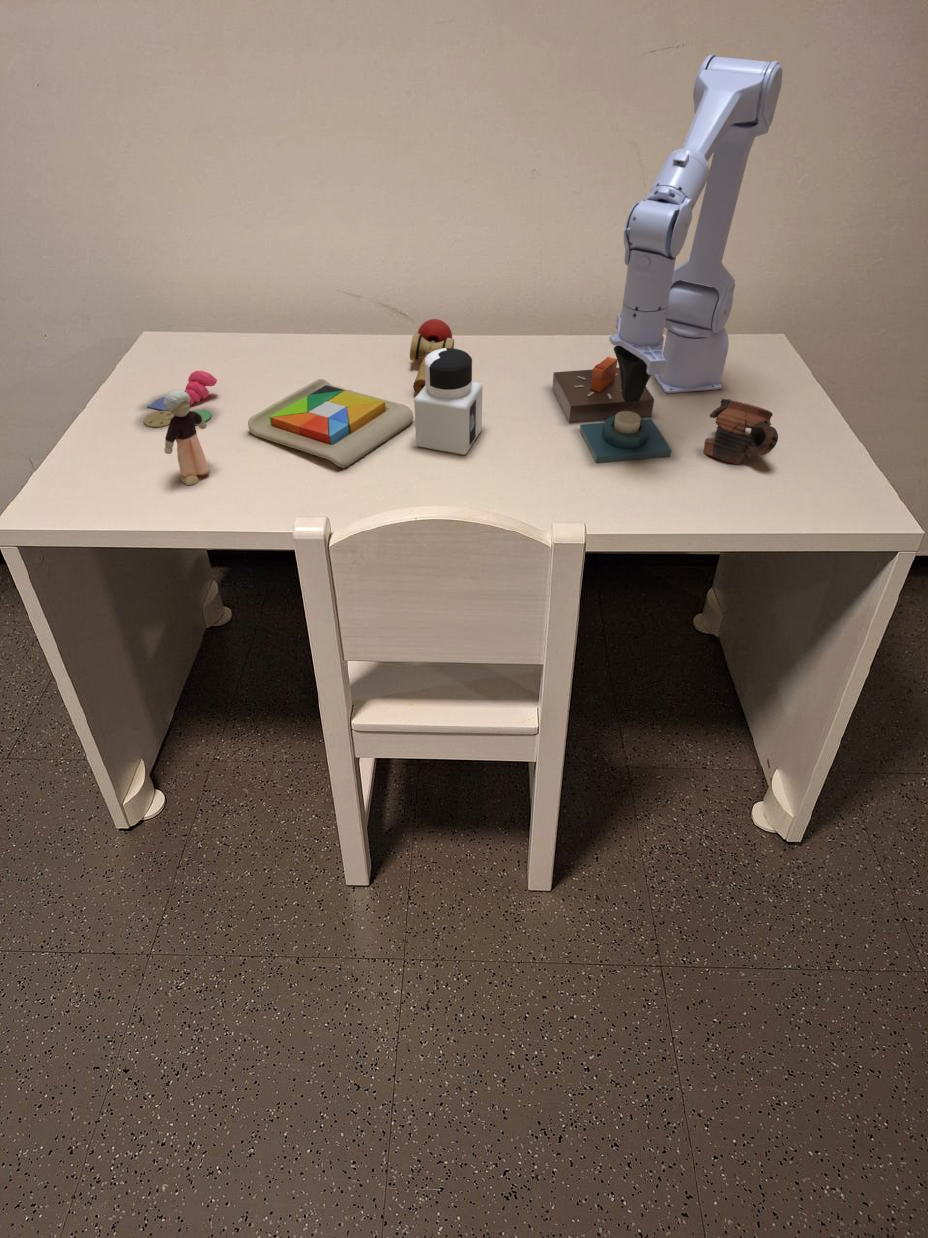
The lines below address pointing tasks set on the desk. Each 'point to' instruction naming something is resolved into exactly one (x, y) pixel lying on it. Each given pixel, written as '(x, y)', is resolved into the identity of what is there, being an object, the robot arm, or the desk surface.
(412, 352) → the kendama
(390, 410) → the wooden puzzle
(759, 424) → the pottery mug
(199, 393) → the toy pieces
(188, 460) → the grandmother figurine
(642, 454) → the button block
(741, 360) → the desk surface
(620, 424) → the button
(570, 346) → the desk surface
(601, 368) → the dial knob
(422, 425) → the container
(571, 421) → the dial board
